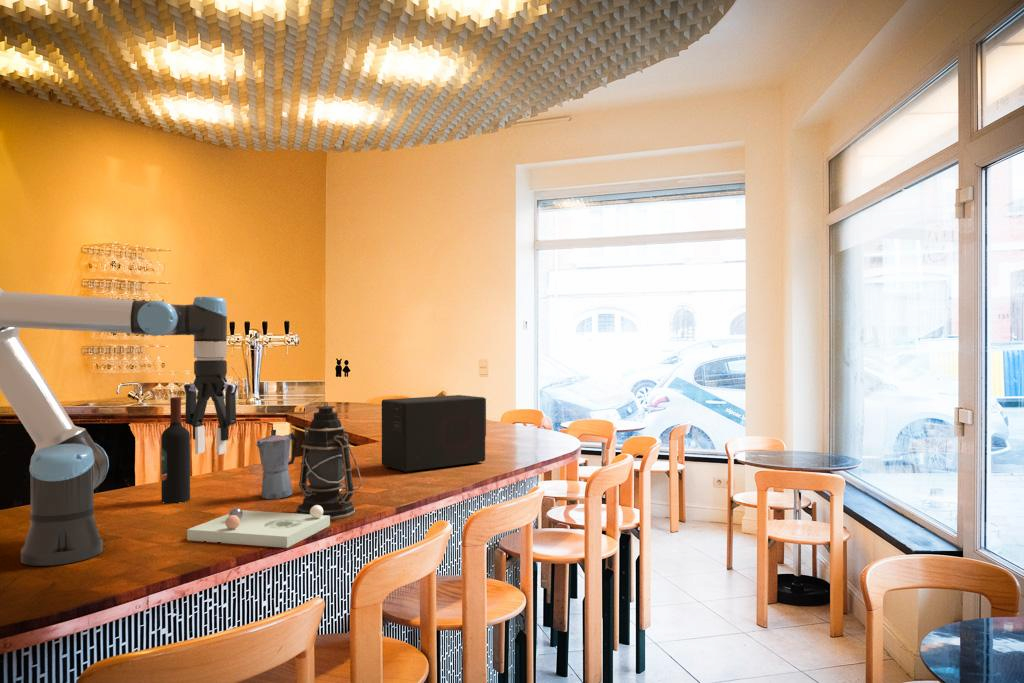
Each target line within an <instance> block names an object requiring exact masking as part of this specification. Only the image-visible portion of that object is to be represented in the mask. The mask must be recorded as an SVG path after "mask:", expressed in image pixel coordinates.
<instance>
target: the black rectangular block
mask: <svg viewBox="0 0 1024 683" xmlns="http://www.w3.org/2000/svg"><path fill="white" fill-rule="evenodd" d="M486 437H487V398H486V397H483V396H473V395H462V394H454V395H438V396H423V397H422V396H421V397H405V398H402V397H401V398H389V399H388V398H386V399H382V400H381V465H382V466H384V467H387V468H388V469H394V470H399V471H402V472H405V474H406V473H407V474H411V473H413V471H420V470H421V471H422V470H428V469H437V468H442V467H443V468H444V467H450V466H457V465H467V464H472V465H478V464H479V463H482V462H485V461H486Z"/></svg>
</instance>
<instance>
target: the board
mask: <svg viewBox="0 0 1024 683" xmlns="http://www.w3.org/2000/svg"><path fill="white" fill-rule="evenodd" d="M241 510H242V509H241ZM242 512H243V515H242V518H241V519H240V524H239V526H238V527H237V528H235V529H229V528H228V527H227V526H226V524H225V522H226V519H227V518H228V517H229V513H227V514H224V515H221V516H219V517H217V518H214V519H211V520H209V521H207V522H203V523H201V524H198V525H196V526H193V527H190V528H188V529H187V530H186V532H187V534H186V535H187V537H186V538H187V539H186V540H187V541H193V542H204V541H206V542H205V543H217V542H221V543H220V544H233V545H247V546H259V547H270V548H285V549H288V548H289V547H292V546H293V545H296V544H297V543H299V542H301V541H303V540H305V539H307V538H309V537H311V536H313V535H314V534H317V533H319V532H320V531H322V530H325V529H326V528H328V527H330V526H331V520H330V516H326V515H322V516H321V517H320V518H313V517H312V516H311V514H296V513H294V512H293V513H291V512H277V511H275V512H274V511H261V510H259V511H258V510H244V509H243V510H242Z"/></svg>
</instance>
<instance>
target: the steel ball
mask: <svg viewBox="0 0 1024 683" xmlns="http://www.w3.org/2000/svg"><path fill="white" fill-rule="evenodd" d="M228 514H229V516H231V515H236V516H238V517H239V519H241V518H242V515H243V512H242V508H240V507H236V506H235V507H232V508H231V509H230V510H229V513H228Z"/></svg>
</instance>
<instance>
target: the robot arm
mask: <svg viewBox="0 0 1024 683" xmlns="http://www.w3.org/2000/svg"><path fill="white" fill-rule="evenodd" d="M21 329H33V330H34V329H36V330H39V329H40V330H56V331H72V332H73V331H79V332H92V333H93V332H99V333H113V334H114V333H116V334H134V335H144V336H152V337H153V336H154V337H158V336H193V358H194V359H196V360H194V361H193V374H194V376H195V377H194V378H195V379H194V381H193V382H191V383H186V384H184V385H183V388H184V393H185V409H184V410H185V415H184V416H185V419H184V420H185V422H184V423H185V424H187V425H190V426H192V439H193V440H195V443H194V444H195V445H194V447H195V448H194V449H195V451H194V453H195V454H196V455H197V454H198V455H200V454H202V453H205V452H206V426H205V425H204V423H203V422H204V417H205V414H206V409H207V405H208V401H209V399H210V398H211V400H212V402H213V405H214V408H215V413H216V416H217V422H218V426H217V427H216V455H219V456H220V455H224V454H227V441H228V440H229V437H230V436H229V435H230V434H229V429H230V427H231V426H234V425H236V424H237V407H236V406H237V405H236V403H237V402H236V400H237V399H236V393H237V390H238V385H237V384H235V383H234V384H232V383H229V382H228V380H227V378H226V376H227V374H228V373H227V372H228V363H227V361H226V360H225V358H227V357H228V356H227V354H228V353H227V352H228V350H227V348H228V347H227V344H228V343H227V340H228V337H227V334H228V330H227V329H228V312H227V301H226V299H224V298H223V297H220V296H196V297H195V296H194V299H193V303H191V304H173V303H171V304H170V303H168V302H166V301H161V300H152V301H151V300H150V301H148V300H134V299H122V298H108V297H107V298H106V297H93V296H92V297H90V296H76V295H62V294H61V295H60V294H46V293H45V294H44V293H35V292H33V293H31V292H19V291H18V292H17V291H16V292H15V291H5V290H3V289H2V288H1V287H0V392H1V393H2V394H3V396H4V397H5V399H6V401H7V402H8V403H9V405H10V407H11V408H12V410H13V411H14V413H15V415H16V416H17V418H18V420H19V421H20V422H21V424H22V425H23V427H24V429H25V430H26V432H27V433H28V435H29V436H30V438H31V440H32V441H33V443H34V444H35V448H34V452H33V454H32V455H31V458H30V464H29V466H28V467H29V473H30V474H29V475H30V476H29V477H30V478H29V479H30V490H29V492H30V525H29V528H28V531H27V532H26V533H27V534H26V537H25V541H24V545H23V546H22V547H21V550H20V562H21V564H23V565H26V566H31V567H32V566H33V567H37V566H38V567H47V566H59V565H67V564H72V563H78V562H80V561H85V560H88V559H91V558H94V557H96V556H98V555H100V554H101V553H102V552H103V550H104V548H103V547H104V545H103V542H104V541H103V537H102V536H100V533H99V532H100V531H99V529H98V525H97V522H96V520H95V517H94V514H95V513H94V490H95V489H96V488H98V487H99V486H100V485H101V484H102V483H103V482H104V480H105V479H106V476H107V474H108V471H109V467H110V463H109V456H108V454H107V453H106V452H107V451H105V449H104V448H103V447H102V446H100V445H99V444H98V443H96V442H94V440H93V438H92V437H91V435H90V434H89V432H88V431H87V430H86V428H84V427H80V426H77V425H75V424H74V423H73V421H72V419H71V417H69V414H68V413H67V411H66V410H65V408H64V407H63V405H62V404H61V402H60V400H59V399H58V397H57V395H56V394H55V392H54V391H53V389H52V388H51V386H50V384H49V383H48V382H47V380H46V378H45V377H44V375H43V374H42V372H41V370H40V369H39V367H38V366H37V364H36V362H35V361H34V360H33V358H32V356H31V355H30V353H29V351H28V350H27V348H26V347H25V345H24V343H23V342H22V340H21V339H20V332H21ZM224 391H225V394H224Z"/></svg>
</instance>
